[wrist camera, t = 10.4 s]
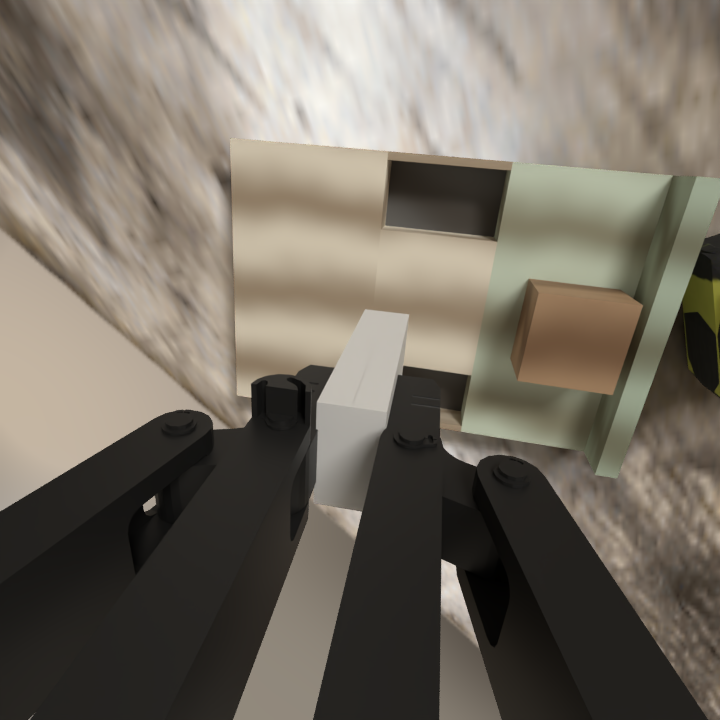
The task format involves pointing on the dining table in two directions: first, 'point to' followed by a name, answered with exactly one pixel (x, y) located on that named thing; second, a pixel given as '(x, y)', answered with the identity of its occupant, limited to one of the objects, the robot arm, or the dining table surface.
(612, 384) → the walnut block
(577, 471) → the dining table surface
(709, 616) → the dining table surface
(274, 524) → the robot arm
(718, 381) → the cordless drill
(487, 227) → the trap board
